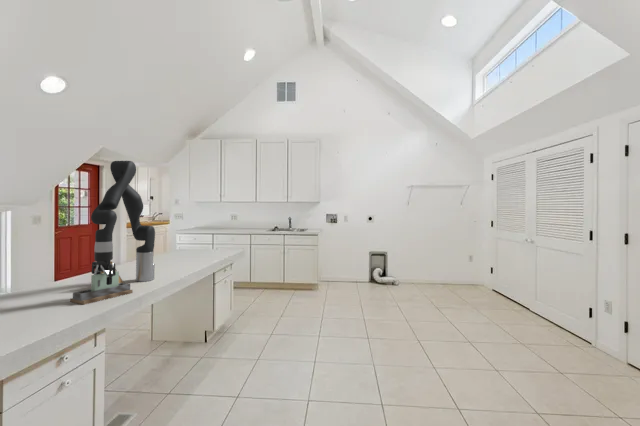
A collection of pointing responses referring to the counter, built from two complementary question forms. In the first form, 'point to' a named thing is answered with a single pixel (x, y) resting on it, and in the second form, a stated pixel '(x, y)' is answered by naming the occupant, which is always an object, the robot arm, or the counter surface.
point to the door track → (100, 294)
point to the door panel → (103, 281)
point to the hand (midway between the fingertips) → (103, 283)
